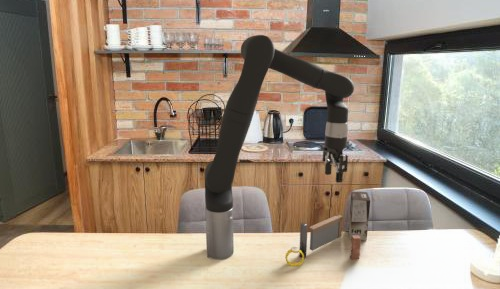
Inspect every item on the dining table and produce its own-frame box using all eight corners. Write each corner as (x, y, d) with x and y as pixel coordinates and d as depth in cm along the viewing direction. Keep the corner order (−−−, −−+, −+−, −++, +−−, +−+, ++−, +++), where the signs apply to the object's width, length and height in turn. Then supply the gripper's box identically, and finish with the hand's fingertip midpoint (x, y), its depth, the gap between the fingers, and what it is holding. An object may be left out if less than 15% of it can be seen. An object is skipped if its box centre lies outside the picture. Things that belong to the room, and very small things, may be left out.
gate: (312, 251, 119) (313, 229, 117) (307, 249, 120) (308, 227, 118) (341, 237, 129) (342, 216, 127) (337, 235, 130) (338, 214, 128)
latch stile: (352, 259, 117) (353, 238, 115) (350, 256, 119) (351, 235, 117) (359, 259, 117) (361, 238, 115) (357, 256, 119) (358, 235, 117)
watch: (302, 263, 115) (304, 247, 114) (303, 267, 113) (305, 251, 111) (284, 262, 115) (286, 246, 114) (285, 266, 113) (287, 250, 111)
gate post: (300, 258, 118) (301, 225, 115) (298, 254, 120) (299, 222, 117) (306, 257, 118) (308, 225, 115) (305, 254, 120) (306, 222, 117)
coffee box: (367, 240, 129) (370, 200, 125) (349, 239, 130) (352, 199, 127) (364, 229, 138) (367, 191, 134) (347, 228, 139) (350, 190, 135)
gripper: (317, 131, 127) (315, 172, 131) (336, 139, 113) (332, 185, 117) (336, 130, 128) (333, 171, 132) (356, 138, 115) (352, 184, 119)
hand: (333, 178), depth 125 cm, fingers open, 8 cm apart
